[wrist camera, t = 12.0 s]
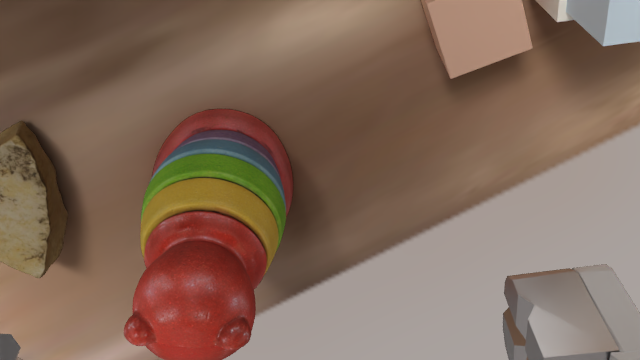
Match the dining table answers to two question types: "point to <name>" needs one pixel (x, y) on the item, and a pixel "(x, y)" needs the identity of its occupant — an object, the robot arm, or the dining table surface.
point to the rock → (28, 204)
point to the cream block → (555, 9)
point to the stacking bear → (209, 235)
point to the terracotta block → (476, 32)
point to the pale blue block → (608, 19)
